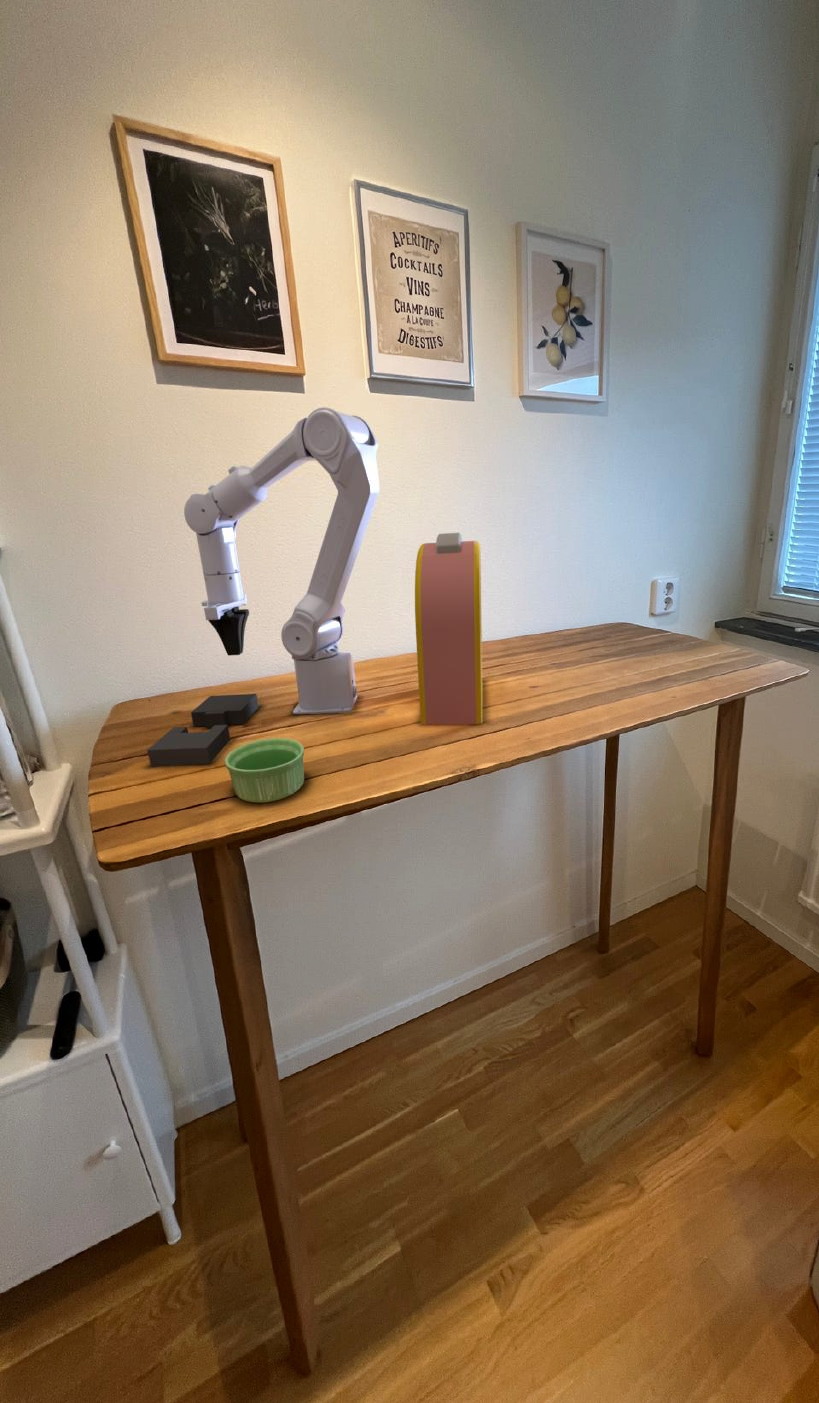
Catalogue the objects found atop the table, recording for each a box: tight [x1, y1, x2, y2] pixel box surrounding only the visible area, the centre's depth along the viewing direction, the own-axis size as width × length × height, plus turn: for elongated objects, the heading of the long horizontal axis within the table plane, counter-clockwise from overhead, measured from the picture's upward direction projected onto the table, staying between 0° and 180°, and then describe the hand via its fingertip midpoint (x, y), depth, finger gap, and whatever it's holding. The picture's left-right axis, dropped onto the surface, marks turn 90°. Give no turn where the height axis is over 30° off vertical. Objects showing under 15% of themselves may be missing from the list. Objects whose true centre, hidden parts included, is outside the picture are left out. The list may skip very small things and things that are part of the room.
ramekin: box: [224, 737, 305, 803], centre depth 64 cm, size 9×9×4 cm
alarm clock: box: [414, 532, 483, 725], centre depth 86 cm, size 21×9×26 cm, turn 173°
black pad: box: [190, 693, 259, 729], centre depth 88 cm, size 8×9×2 cm
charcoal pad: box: [146, 725, 231, 767], centre depth 76 cm, size 8×8×2 cm
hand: (235, 654), depth 94 cm, fingers closed
